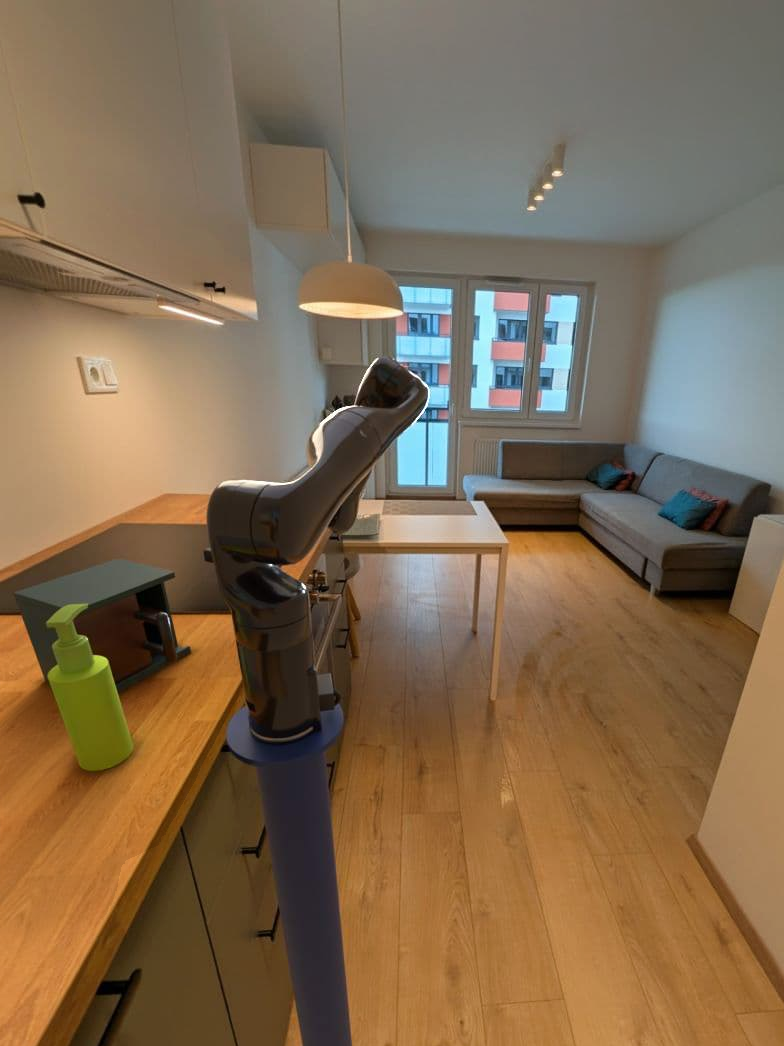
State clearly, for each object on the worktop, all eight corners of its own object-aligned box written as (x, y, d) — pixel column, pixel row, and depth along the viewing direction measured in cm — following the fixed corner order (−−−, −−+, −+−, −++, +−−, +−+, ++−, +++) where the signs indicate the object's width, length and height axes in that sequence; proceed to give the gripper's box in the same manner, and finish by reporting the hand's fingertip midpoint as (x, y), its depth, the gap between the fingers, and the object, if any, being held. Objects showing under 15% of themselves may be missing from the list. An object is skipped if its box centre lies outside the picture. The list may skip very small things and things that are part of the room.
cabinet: (191, 652, 88) (174, 571, 81) (101, 702, 74) (72, 611, 68) (138, 635, 92) (118, 558, 86) (44, 680, 79) (12, 592, 72)
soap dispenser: (143, 732, 69) (105, 599, 60) (122, 768, 63) (77, 626, 54) (95, 735, 68) (50, 601, 59) (69, 773, 62) (15, 629, 53)
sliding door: (183, 673, 80) (167, 600, 75) (122, 710, 72) (98, 630, 66) (148, 661, 83) (129, 590, 78) (85, 695, 74) (59, 618, 69)
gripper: (311, 554, 95) (242, 586, 80) (255, 543, 99) (181, 571, 85) (307, 515, 92) (235, 540, 77) (250, 505, 96) (172, 528, 82)
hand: (207, 556), depth 81 cm, fingers closed
